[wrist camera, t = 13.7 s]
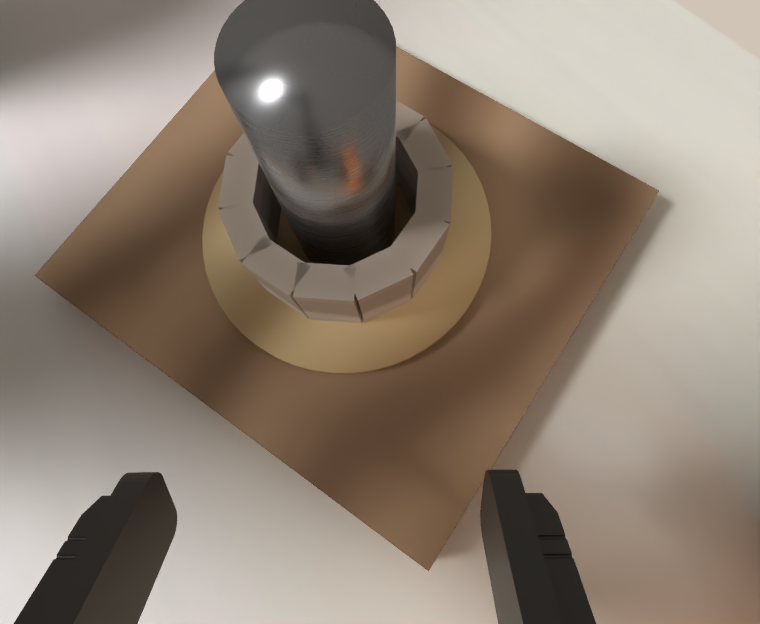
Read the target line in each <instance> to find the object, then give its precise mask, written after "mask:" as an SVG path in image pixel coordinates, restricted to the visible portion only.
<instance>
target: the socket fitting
mask: <svg viewBox="0 0 760 624" xmlns="http://www.w3.org/2000/svg"><path fill="white" fill-rule="evenodd" d="M658 192H659V191H658V190H657V189H655V188H653V187H651V186H649V185H647V184H646V183H644V182H642V181H640V180H638V179H637V178H635V177H633V176H631V175H629V174H627V173H626V172H624V171H622V170H620V169H618V168H617V167H615V166H613V165H611V164H609V163H607V162H606V161H604V160H602V159H600V158H598V157H596V156H595V155H593V154H591V153H589V152H587V151H586V150H584V149H582V148H580V147H578V146H576V145H575V144H573V143H571V142H569V141H567V140H565V139H564V138H562V137H560V136H558V135H556V134H555V133H553V132H551V131H549V130H547V129H545V128H544V127H542V126H540V125H538V124H536V123H534V122H533V121H531V120H529V119H527V118H525V117H524V116H522V115H520V114H518V113H516V112H514V111H513V110H511V109H509V108H507V107H505V106H504V105H502V104H500V103H498V102H496V101H494V100H493V99H491V98H489V97H487V96H485V95H483V94H482V93H480V92H478V91H476V90H474V89H473V88H471V87H469V86H467V85H465V84H463V83H462V82H460V81H458V80H456V79H454V78H452V77H451V76H449V75H447V74H445V73H443V72H442V71H440V70H438V69H436V68H434V67H432V66H431V65H429V64H427V63H425V62H423V61H422V60H420V59H418V58H416V57H414V56H412V55H411V54H409V53H407V52H405V51H403V50H401V49H400V48H398V47H396V152H395V235H394V240H393V243H392V245H391V247H389V248H387V249H384V250H382V251H380V252H378V253H376V254H374V255H372V256H369V257H367V258H365V259H363V260H361V261H359V262H356V263H354V264H352V265H350V266H349V265H333V264H318V263H312V262H311V261H310V260H309V259H308V257H307V256H306V255H305V253H304V251H303V249H302V247H301V245H300V243H299V241H298V239H297V237H296V235H295V233H294V231H293V229H292V228H291V226H290V224H289V222H288V220H287V218H286V216H285V214H284V212H283V210H282V208H281V206H280V204H279V202H278V200H277V198H276V196H275V194H274V192H273V190H272V188H271V186H270V184H269V182H268V180H267V178H266V176H265V174H264V172H263V170H262V168H261V166H260V164H259V162H258V160H257V158H256V156H255V154H254V152H253V150H252V148H251V146H250V144H249V142H248V140H247V138H246V136H245V134H244V132H243V131H242V129H241V127H240V125H239V123H238V121H237V119H236V117H235V115H234V113H233V111H232V109H231V107H230V105H229V103H228V101H227V99H226V97H225V95H224V93H223V91H222V89H221V87H220V85H219V83H218V79H217V76H216V73H215V71H214V72H213V73H212V74H211V75H210V76H209V78H208V79H207V80H206V81H205V82H204V83H203V84H202V86H201V87H200V88H199V89H198V90H197V91H196V92H195V93H194V95H193V96H192V97H191V98H190V99H189V100H188V101H187V103H186V104H185V105H184V106H183V107H182V108H181V109H180V111H179V112H178V113H177V114H176V115H175V116H174V117H173V119H172V120H171V121H170V122H169V123H168V124H167V125H166V127H165V128H164V129H163V130H162V131H161V132H160V133H159V135H158V136H157V137H156V138H155V139H154V140H153V141H152V143H151V144H150V145H149V146H148V147H147V148H146V149H145V151H144V152H143V153H142V154H141V155H140V156H139V157H138V159H137V160H136V161H135V162H134V163H133V164H132V165H131V167H130V168H129V169H128V170H127V171H126V172H125V173H124V174H123V176H122V177H121V178H120V179H119V180H118V181H117V182H116V184H115V185H114V186H113V187H112V188H111V189H110V190H109V192H108V193H107V194H106V195H105V196H104V197H103V198H102V200H101V201H100V202H99V203H98V204H97V205H96V206H95V208H94V209H93V210H92V211H91V212H90V213H89V214H88V216H87V217H86V218H85V219H84V220H83V221H82V222H81V224H80V225H79V226H78V227H77V228H76V229H75V230H74V232H73V233H72V234H71V235H70V236H69V237H68V238H67V240H66V241H65V242H64V243H63V244H62V245H61V246H60V247H59V249H58V250H57V251H56V252H55V253H54V254H53V255H52V257H51V258H50V259H49V260H48V261H47V262H46V263H45V265H44V266H43V267H42V268H41V269H40V270H39V271H38V273H37V274H36V275H35V276H36V277H37V278H39V279H40V280H41V281H43V282H44V283H45V284H47V285H48V286H49V287H51V288H52V289H53V290H54V291H56V292H57V293H58V294H60V295H61V296H62V297H64V298H65V299H66V300H68V301H69V302H70V303H72V304H73V305H74V306H76V307H77V308H78V309H80V310H81V311H82V312H84V313H85V314H86V315H88V316H89V317H90V318H92V319H93V320H94V321H96V322H97V323H98V324H100V325H101V326H102V327H104V328H105V329H106V330H108V331H109V332H110V333H112V334H113V335H114V336H116V337H117V338H118V339H120V340H121V341H122V342H124V343H125V344H126V345H128V346H129V347H130V348H132V349H133V350H134V351H136V352H137V353H138V354H140V355H141V356H142V357H144V358H145V359H146V360H148V361H149V362H150V363H152V364H153V365H154V366H156V367H157V368H158V369H160V370H161V371H162V372H164V373H165V374H166V375H168V376H169V377H170V378H172V379H173V380H174V381H176V382H177V383H178V384H180V385H181V386H182V387H184V388H185V389H186V390H188V391H189V392H190V393H192V394H193V395H194V396H196V397H197V398H198V399H200V400H201V401H202V402H204V403H205V404H206V405H208V406H209V407H210V408H212V409H213V410H214V411H216V412H217V413H218V414H220V415H221V416H222V417H224V418H225V419H226V420H228V421H229V422H230V423H232V424H233V425H234V426H236V427H237V428H238V429H240V430H241V431H242V432H244V433H245V434H246V435H248V436H249V437H250V438H252V439H253V440H254V441H256V442H257V443H258V444H260V445H261V446H262V447H264V448H265V449H266V450H268V451H269V452H270V453H272V454H273V455H274V456H276V457H277V458H278V459H280V460H281V461H282V462H284V463H285V464H286V465H288V466H289V467H290V468H292V469H293V470H294V471H296V472H297V473H298V474H300V475H301V476H302V477H304V478H305V479H306V480H308V481H309V482H310V483H312V484H313V485H314V486H316V487H317V488H318V489H320V490H321V491H322V492H324V493H325V494H326V495H328V496H329V497H330V498H332V499H333V500H334V501H336V502H337V503H338V504H340V505H341V506H342V507H344V508H345V509H346V510H348V511H349V512H350V513H352V514H353V515H354V516H356V517H357V518H358V519H360V520H361V521H362V522H364V523H365V524H366V525H368V526H369V527H370V528H372V529H373V530H374V531H376V532H377V533H378V534H380V535H381V536H382V537H384V538H385V539H386V540H388V541H389V542H390V543H392V544H393V545H394V546H396V547H397V548H398V549H400V550H401V551H402V552H404V553H405V554H406V555H408V556H409V557H410V558H412V559H413V560H414V561H416V562H417V563H418V564H420V565H421V566H422V567H424V568H425V569H426V570H428V571H429V570H430V568H431V566H432V565H433V563H434V561H435V560H436V558H437V556H438V555H439V553H440V551H441V550H442V548H443V546H444V545H445V543H446V542H447V540H448V538H449V537H450V535H451V533H452V532H453V530H454V528H455V527H456V525H457V523H458V522H459V520H460V518H461V517H462V515H463V513H464V512H465V510H466V509H467V507H468V505H469V504H470V502H471V500H472V499H473V497H474V495H475V494H476V492H477V490H478V489H479V487H480V485H481V484H482V482H483V481H484V477H485V471H486V470H490V469H491V467H492V466H493V464H494V462H495V461H496V459H497V457H498V456H499V454H500V452H501V451H502V449H503V448H504V446H505V444H506V443H507V441H508V439H509V438H510V436H511V434H512V433H513V431H514V429H515V428H516V426H517V424H518V423H519V421H520V420H521V418H522V416H523V415H524V413H525V411H526V410H527V408H528V406H529V405H530V403H531V401H532V400H533V398H534V396H535V395H536V393H537V391H538V390H539V388H540V387H541V385H542V383H543V382H544V380H545V378H546V377H547V375H548V373H549V372H550V370H551V368H552V367H553V365H554V363H555V362H556V360H557V359H558V357H559V355H560V354H561V352H562V350H563V349H564V347H565V345H566V344H567V342H568V340H569V339H570V337H571V335H572V334H573V332H574V330H575V329H576V327H577V326H578V324H579V322H580V321H581V319H582V317H583V316H584V314H585V312H586V311H587V309H588V307H589V306H590V304H591V302H592V301H593V299H594V298H595V296H596V294H597V293H598V291H599V289H600V288H601V286H602V284H603V283H604V281H605V279H606V278H607V276H608V274H609V273H610V271H611V269H612V268H613V266H614V265H615V263H616V261H617V260H618V258H619V256H620V255H621V253H622V251H623V250H624V248H625V246H626V245H627V243H628V241H629V240H630V238H631V236H632V235H633V233H634V232H635V230H636V228H637V227H638V225H639V223H640V222H641V220H642V218H643V217H644V215H645V213H646V212H647V210H648V208H649V207H650V205H651V204H652V202H653V200H654V199H655V197H656V195H657V194H658Z"/></svg>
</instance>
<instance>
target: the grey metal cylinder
mask: <svg viewBox="0 0 760 624" xmlns="http://www.w3.org/2000/svg"><path fill="white" fill-rule="evenodd" d="M214 65H215V73H216V76H217V79H218V83H219V85H220V87H221V89H222V91H223V93H224V95H225V97H226V99H227V101H228V103H229V105H230V107H231V109H232V111H233V113H234V115H235V117H236V119H237V121H238V123H239V125H240V127H241V129H242V131H243V132H244V134H245V136H246V138H247V140H248V142H249V144H250V146H251V148H252V150H253V152H254V154H255V156H256V158H257V160H258V162H259V164H260V166H261V168H262V170H263V172H264V174H265V176H266V178H267V180H268V182H269V184H270V186H271V188H272V190H273V192H274V194H275V196H276V198H277V200H278V202H279V204H280V206H281V208H282V210H283V212H284V214H285V216H286V218H287V220H288V222H289V224H290V226H291V228H292V229H293V231H294V233H295V235H296V237H297V239H298V241H299V243H300V245H301V247H302V249H303V251H304V253H305V255H306V256H307V257H308V259H309V260H310V261H311V262H312V263H318V264H333V265H349V266H350V265H352V264H354V263H356V262H359V261H361V260H363V259H365V258H367V257H369V256H372V255H374V254H376V253H378V252H380V251H382V250H384V249H387V248H389V247H391V245H392V243H393V240H394V235H395V152H396V40H395V36H394V32H393V28H392V26H391V24H390V21H389V19H388V18H387V16H386V14H385V13H384V11H383V10H382V9H381V8H380V7H379V5H378V4H377V3H376V2H375V1H374V0H245V1H244V2H243V3H241V4H240V5H239V6H238V7H237V8H236V9H235V10H234V11H233V13H232V14H231V15H230V16H229V18H228V19H227V20H226V22H225V23H224V25H223V27H222V29H221V31H220V33H219V36H218V39H217V42H216V47H215V53H214Z"/></svg>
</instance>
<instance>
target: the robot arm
mask: <svg viewBox="0 0 760 624" xmlns="http://www.w3.org/2000/svg"><path fill="white" fill-rule="evenodd" d="M480 517H481V530H482V537H483V542H484V548H485V553H486V559H487V564H488V570H489V575H490V580H491V586H492V591H493V597H494V602H495V608H496V613H497V618H498V624H596V622H595V619H594V616H593V613H592V611H591V608H590V605H589V602H588V599H587V596H586V593H585V590H584V588H583V585H582V582H581V579H580V576H579V573H578V570H577V567H576V564H575V562H574V559H573V558H572V553H571V550H570V547H569V544H568V541H567V539H566V538H565V533H564V530H563V527H562V524H561V521H560V518H559V516H558V513H557V511H556V510H555V509H554V508H553V506H552V505H551V504H550V503H549V501H548V500H547V499H546V498H545V496H544V495H543V494H542V493H525V491H524V487H523V484H522V481H521V477H520V474H519V472H518V471H517V470H486V471H485V477H484V485H483V493H482V501H481V511H480ZM176 525H177V512H176V508H175V506H174V503H173V501H172V498H171V496H170V493H169V491H168V488H167V486H166V484H165V481H164V479H163V476H162V475H161V474H160V473H158V472H142V473H126V474H125V475H124V476H123V477H122V478H121V479H120V481H119V482H118V484H117V486H116V487H115V489H114V491H113V493H112V494H111V496H101V497H100V498H99V499H98V500H97V501H96V502H95V503H94V504H93V505H92V506H91V507H90V508H88V509H87V510H86V511H85V512H84V513H83V514H82V515H81V517H80V518H79V520H78V522H77V523H76V525H75V526H74V528H73V530H72V531H71V533H70V534H69V536H68V540H67V541H65V542H64V544H63V546H62V547H61V549H60V550H59V552H58V554H57V558H56V559H54V560H53V562H52V563H51V565H50V566H49V568H48V570H47V571H46V573H45V574H44V576H43V578H42V579H41V581H40V582H39V584H38V586H37V587H36V589H35V590H34V592H33V594H32V595H31V597H30V598H29V600H28V602H27V603H26V605H25V606H24V608H23V610H22V611H21V613H20V614H19V616H18V618H17V619H16V621H15V622H14V624H137V623H138V621H139V619H140V616H141V614H142V611H143V609H144V607H145V604H146V602H147V599H148V597H149V595H150V592H151V590H152V587H153V585H154V583H155V580H156V578H157V575H158V573H159V571H160V568H161V566H162V564H163V561H164V559H165V556H166V554H167V552H168V549H169V547H170V544H171V542H172V540H173V537H174V534H175V531H176Z"/></svg>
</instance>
